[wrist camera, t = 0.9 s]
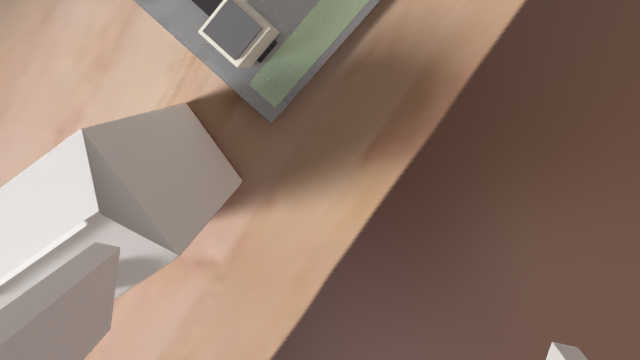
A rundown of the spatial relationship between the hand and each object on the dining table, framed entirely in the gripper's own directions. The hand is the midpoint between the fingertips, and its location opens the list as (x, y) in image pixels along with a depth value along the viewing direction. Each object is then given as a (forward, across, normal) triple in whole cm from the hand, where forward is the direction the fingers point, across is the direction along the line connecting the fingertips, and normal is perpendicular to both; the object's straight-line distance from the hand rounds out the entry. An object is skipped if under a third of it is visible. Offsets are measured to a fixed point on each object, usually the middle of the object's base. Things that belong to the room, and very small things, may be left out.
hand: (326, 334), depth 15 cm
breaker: (+21, -8, +8) cm, 24 cm away
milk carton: (+23, -12, -2) cm, 26 cm away
